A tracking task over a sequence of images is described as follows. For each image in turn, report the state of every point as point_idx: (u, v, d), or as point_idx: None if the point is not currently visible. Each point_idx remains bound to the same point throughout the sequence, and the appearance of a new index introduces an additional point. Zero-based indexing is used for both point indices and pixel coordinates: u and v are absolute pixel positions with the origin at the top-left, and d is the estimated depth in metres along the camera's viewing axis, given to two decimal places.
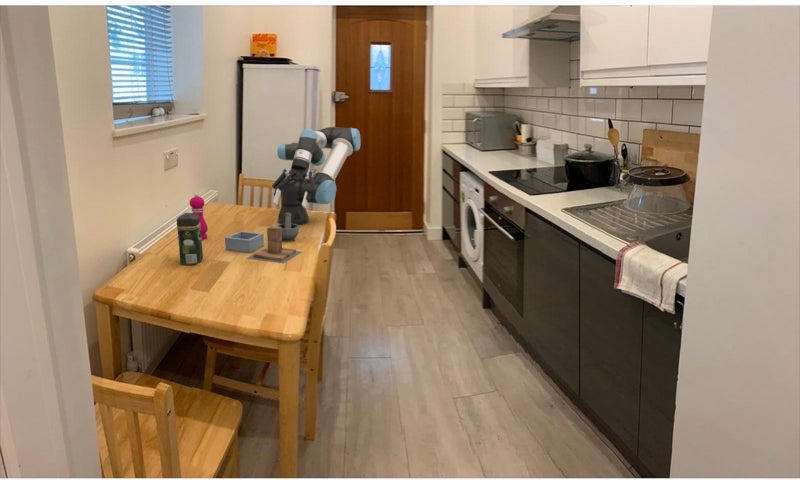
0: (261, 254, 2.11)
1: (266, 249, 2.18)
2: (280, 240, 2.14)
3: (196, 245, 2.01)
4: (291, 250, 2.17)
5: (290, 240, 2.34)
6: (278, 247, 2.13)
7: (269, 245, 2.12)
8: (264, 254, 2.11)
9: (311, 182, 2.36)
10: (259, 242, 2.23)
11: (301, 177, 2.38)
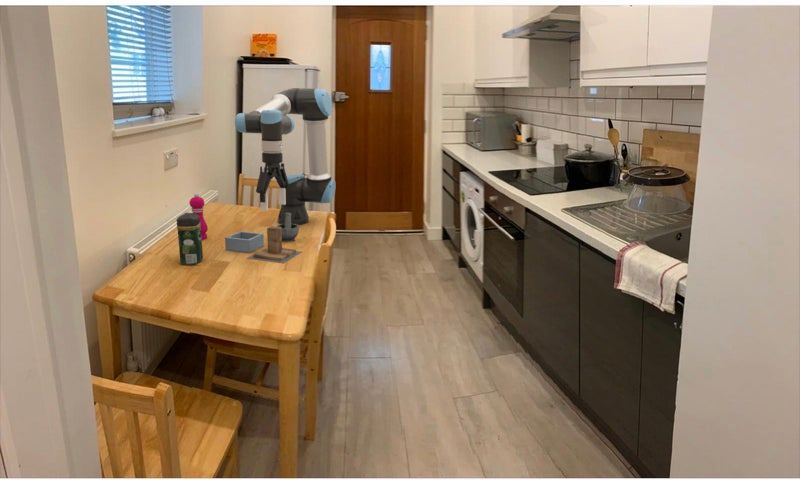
0: (261, 254, 2.11)
1: (266, 249, 2.18)
2: (280, 240, 2.14)
3: (196, 245, 2.01)
4: (291, 250, 2.17)
5: (290, 240, 2.34)
6: (278, 247, 2.13)
7: (269, 245, 2.12)
8: (264, 254, 2.11)
9: (285, 176, 2.14)
10: (259, 242, 2.23)
11: (280, 173, 2.09)
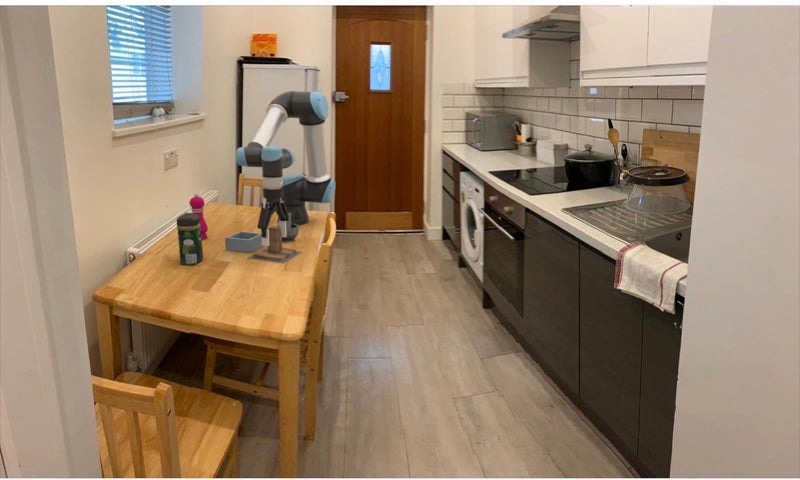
0: (261, 254, 2.11)
1: (266, 249, 2.18)
2: (280, 240, 2.14)
3: (196, 245, 2.01)
4: (291, 250, 2.17)
5: (290, 240, 2.34)
6: (278, 247, 2.13)
7: (269, 245, 2.12)
8: (264, 254, 2.11)
9: (286, 209, 2.17)
10: (259, 242, 2.23)
11: (281, 207, 2.12)
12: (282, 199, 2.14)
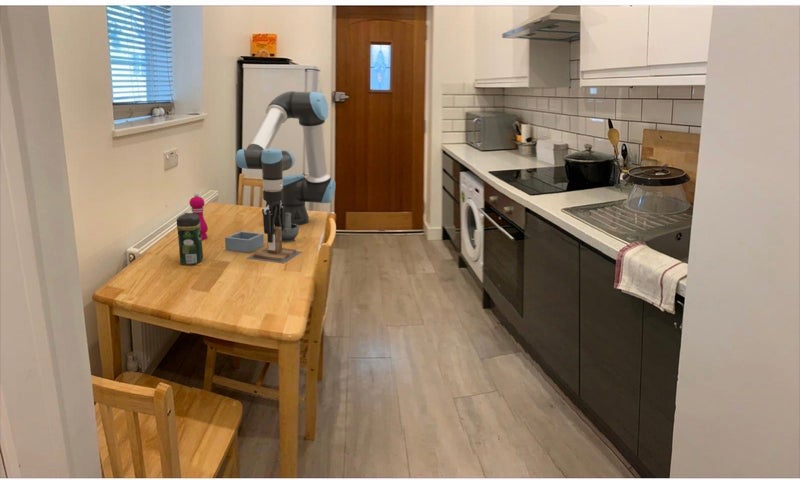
0: (261, 254, 2.11)
1: (266, 249, 2.18)
2: (280, 240, 2.14)
3: (196, 245, 2.01)
4: (291, 250, 2.17)
5: (290, 240, 2.34)
6: (278, 247, 2.13)
7: None
8: (264, 254, 2.11)
9: (283, 217, 2.16)
10: (259, 242, 2.23)
11: (279, 212, 2.11)
12: (282, 204, 2.14)
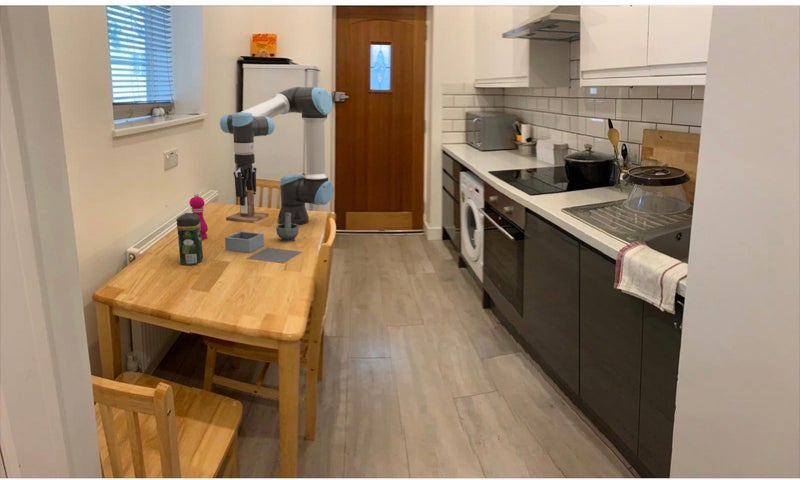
0: (233, 217, 2.15)
1: (239, 213, 2.21)
2: (252, 203, 2.17)
3: (196, 245, 2.01)
4: (264, 214, 2.21)
5: (290, 240, 2.34)
6: (250, 210, 2.16)
7: None
8: (236, 217, 2.15)
9: (255, 181, 2.19)
10: (259, 242, 2.23)
11: (251, 175, 2.15)
12: (254, 169, 2.18)
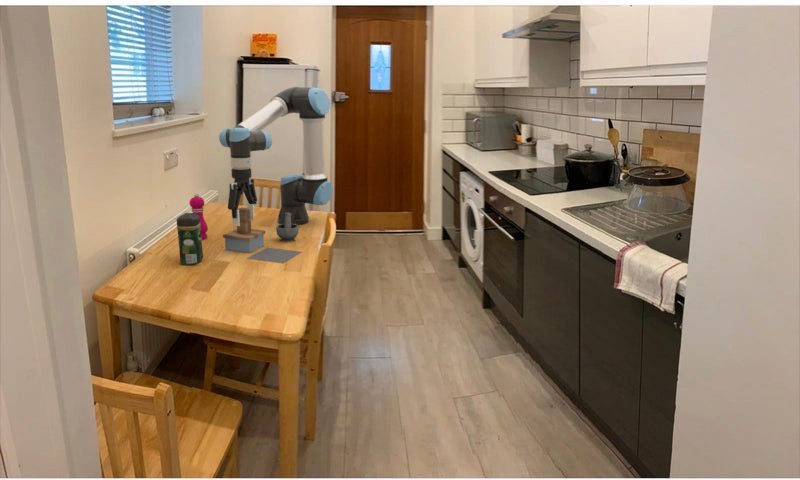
0: (230, 234, 2.18)
1: (236, 230, 2.24)
2: (249, 221, 2.20)
3: (196, 245, 2.01)
4: (260, 231, 2.24)
5: (290, 240, 2.34)
6: (247, 228, 2.19)
7: (238, 226, 2.19)
8: (233, 234, 2.17)
9: (254, 192, 2.23)
10: (259, 242, 2.23)
11: (249, 188, 2.18)
12: (251, 181, 2.21)
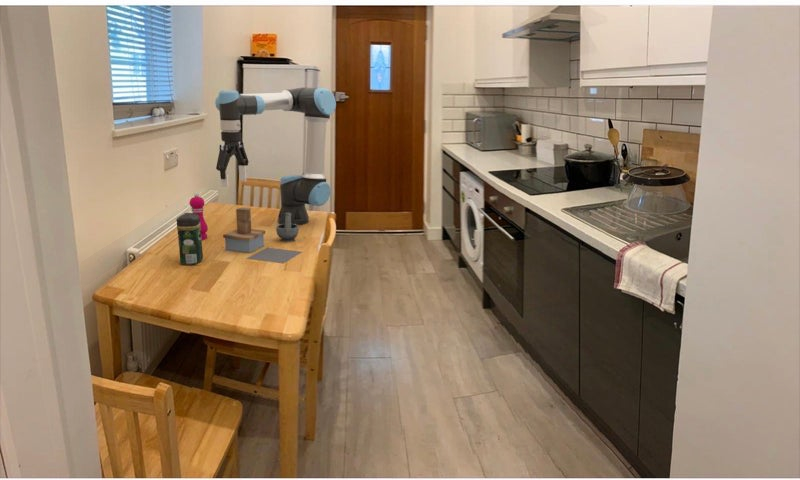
0: (230, 234, 2.18)
1: (236, 230, 2.24)
2: (249, 221, 2.20)
3: (196, 245, 2.01)
4: (260, 231, 2.24)
5: (290, 240, 2.34)
6: (247, 228, 2.19)
7: (238, 226, 2.19)
8: (233, 234, 2.17)
9: (245, 154, 2.24)
10: (259, 242, 2.23)
11: (239, 151, 2.19)
12: (241, 143, 2.21)
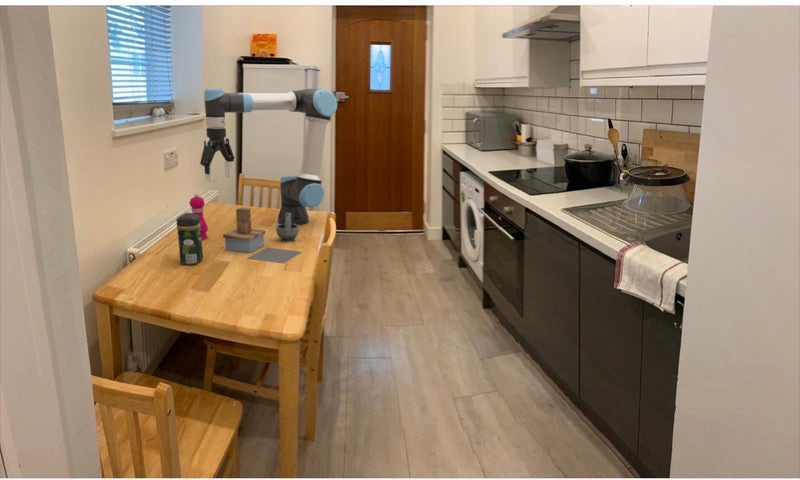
0: (230, 234, 2.18)
1: (236, 230, 2.24)
2: (249, 221, 2.20)
3: (196, 245, 2.01)
4: (260, 231, 2.24)
5: (290, 240, 2.34)
6: (247, 228, 2.19)
7: (238, 226, 2.19)
8: (233, 234, 2.17)
9: (231, 150, 2.31)
10: (259, 242, 2.23)
11: (225, 147, 2.26)
12: (226, 140, 2.28)
